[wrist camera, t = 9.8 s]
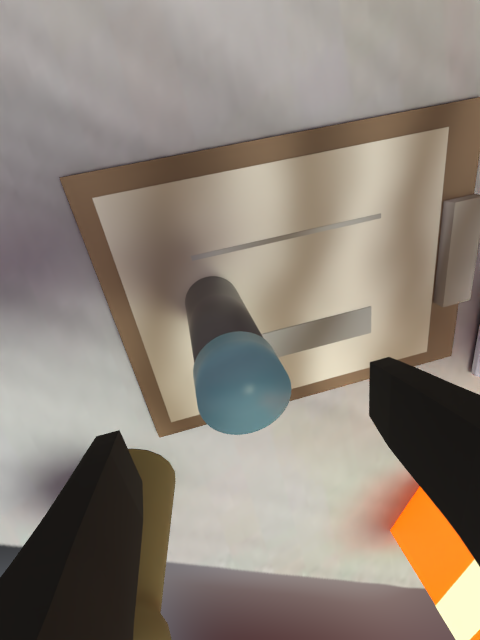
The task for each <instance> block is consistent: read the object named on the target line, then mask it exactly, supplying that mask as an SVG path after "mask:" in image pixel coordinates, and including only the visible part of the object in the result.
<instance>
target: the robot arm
mask: <svg viewBox="0 0 480 640" xmlns="http://www.w3.org/2000/svg"><path fill="white" fill-rule="evenodd" d="M472 374H473V375H475V376H476V377H480V326H479V331H478V337H477V343H476V348H475V354H474V360H473V365H472ZM369 416H370V417H371V419H372V421H373V422H374V424H375V426H376V427H377V429H378V431H379V432H380V434H381V436H382V437H383V439H384V440H385V442H386V443H387V445H388V447H389V448H390V449H391V450H392V452H393V453H394V454H395V456H396V457H397V458H398V459H399V461H400V462H401V463H402V464H403V466H404V467H405V468H406V469H407V471H408V472H409V473H410V474H411V476H412V477H413V478H414V479H415V481H416V482H417V483H418V484H419V486H420V487H421V488H422V489H423V491H424V492H425V493H426V494H427V496H428V497H429V498H430V499H431V501H432V502H433V503H434V504H435V506H436V507H437V508H438V509H439V511H440V512H441V513H442V514H443V516H444V517H445V518H446V519H447V521H448V522H449V523H450V525H451V526H452V527H453V529H454V530H455V531H456V533H457V534H458V535H459V537H460V538H461V540H462V541H463V543H464V544H465V546H466V547H467V549H468V550H469V552H470V553H471V555H472V556H473V558H474V559H475V561H476V562H477V564H478V565H479V567H480V395H478V394H476V393H474V392H471V391H469V390H466V389H464V388H462V387H459V386H457V385H454V384H452V383H450V382H447V381H445V380H443V379H441V378H438V377H436V376H434V375H431V374H429V373H427V372H425V371H422V370H420V369H418V368H415V367H413V366H411V365H408V364H406V363H404V362H401V361H399V360H396V359H394V358H391V357H387V358H383V359H379V360H376V361H372V362H370V390H369ZM142 531H143V483H142V479H141V477H140V475H139V473H138V470H137V468H136V466H135V464H134V462H133V459H132V457H131V455H130V453H129V450H128V448H127V446H126V444H125V442H124V439H123V437H122V435H121V433H120V431H115V432H111V433H108V434H104V435H100V436H97V437H96V438H95V439H94V441H93V442H92V444H91V446H90V447H89V449H88V450H87V452H86V453H85V455H84V456H83V458H82V459H81V461H80V463H79V464H78V466H77V467H76V469H75V471H74V472H73V474H72V475H71V477H70V478H69V480H68V482H67V483H66V485H65V486H64V488H63V489H62V491H61V492H60V494H59V495H58V497H57V498H56V500H55V501H54V503H53V504H52V506H51V507H50V509H49V510H48V512H47V513H46V515H45V516H44V518H43V519H42V521H41V522H40V524H39V525H38V527H37V528H36V529H35V531H34V532H33V534H32V535H31V536H30V538H29V539H28V541H27V542H26V543H25V545H24V546H23V548H22V549H21V551H20V552H19V553H18V555H17V556H16V557H15V559H14V560H13V562H12V563H11V564H10V566H9V567H8V568H7V570H6V571H5V572H4V574H3V575H2V576H1V577H0V640H133V632H134V618H135V607H136V596H137V586H138V575H139V565H140V554H141V543H142Z"/></svg>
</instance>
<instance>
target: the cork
mask: <svg viewBox="0 0 480 640" xmlns="http://www.w3.org/2000/svg"><path fill="white" fill-rule="evenodd" d="M128 450H129V453H130V455H131V457H132V459H133V462H134V464H135V466H136V468H137V470H138V473H139V475H140V477H141V479H142V483H143V531H142V543H141V554H140V565H139V575H138V586H137V596H136V607H135V618H134V632H133V640H171V636H170V631H169V627H168V624H167V622H166V621H165V619H164V618H163V616H162V615H161V613H160V611H161V603H162V594H163V585H164V577H165V567H166V559H167V550H168V541H169V533H170V524H171V515H172V506H173V498H174V489H175V471H174V470H173V468H172V466H171V464H170V463H169V462H168V461H167V460H166V459H164V458H163V457H162V456H160V455H158V454H155V453H153V452H150V451H147V450H138V449H128Z"/></svg>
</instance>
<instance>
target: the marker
mask: <svg viewBox="0 0 480 640" xmlns="http://www.w3.org/2000/svg"><path fill="white" fill-rule="evenodd" d="M185 307H186V313H187V320H188V326H189V332H190V339H191V345H192V352H193V358H194V367H193V378H194V385H195V392H196V399H197V406H198V411H199V413H200V415H201V417H202V419H203V420H204V421H205V422H206V424H208V425H209V426H210V427H211V428H213V429H215V430H217V431H219V432H222V433H226V434H234V435H240V434H248V433H252V432H255V431H258V430H260V429H263V428H265V427H266V426H268V425H270V424H271V423H272V422H274V421H275V420H276V419H277V418H278V417H279V416H280V415H281V414H282V413H283V411H284V410H285V408H286V407H287V405H288V403H289V400H290V396H291V382H290V378H289V376H288V374H287V372H286V370H285V369H284V367H283V365H282V364H281V362H280V360H279V358H278V357H277V355H276V353H275V352H274V350H273V348H272V347H271V345H270V344H269V343H268V342H267V341H266V340H265V339H264V338H263V336H262V334H261V333H260V331H259V329H258V327H257V326H256V324H255V322H254V320H253V319H252V317H251V315H250V313H249V311H248V310H247V308H246V306H245V304H244V303H243V301H242V299H241V297H240V296H239V294H238V292H237V290H236V289H235V287H234V286H233V284H232V283H231V282H229V281H228V280H226V279H224V278H222V277H218V276H209V277H204V278H202V279H200V280H198V281H196V282H195V283H194V284H193V285H192V286H191V287H190V288H189V290H188V292H187V294H186V298H185Z"/></svg>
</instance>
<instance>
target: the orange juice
mask: <svg viewBox="0 0 480 640" xmlns="http://www.w3.org/2000/svg"><path fill="white" fill-rule="evenodd" d="M390 531H391V533H392V535H393V536H394V538H395V540H396V541H397V543H398V545H399V546H400V548H401V549H402V551H403V553H404V554H405V556H406V558H407V559H408V561H409V562H410V564H411V566H412V567H413V569H414V571H415V572H416V574H417V576H418V577H419V579H420V580H421V582H422V584H423V585H424V587H425V589H426V590H427V592H428V593H429V595H430V597H431V598H432V600H433V602H434V603H435V605H436V608H437V609H438V611H439V613H440V614H441V616H442V617H443V619H444V621H445V622H446V624H447V626H448V627H449V629H450V631H451V632H452V634H453V636H454V637H455V639H456V640H480V567H479V565H478V564H477V562H476V561H475V559H474V558H473V556H472V555H471V553H470V552H469V550H468V549H467V547H466V546H465V544H464V543H463V541H462V540H461V538H460V537H459V535H458V534H457V533H456V531H455V530H454V529H453V527H452V526H451V525H450V523H449V522H448V521H447V519H446V518H445V517H444V516H443V514H442V513H441V512H440V511H439V509H438V508H437V507H436V506H435V504H434V503H433V502H432V501H431V499H430V498H429V497H428V496H427V494H426V493H425V492H424V491H423V489H422V488H421V487H419V488H418V490H417V491H416V493H415V494H414V496H413V497H412V499H411V500H410V502H409V503H408V505H407V506H406V508H405V509H404V510H403V512H402V513H401V515H400V516H399V518H398V519H397V521H396V522H395V524H394V525H393V527H392V528H391V530H390Z"/></svg>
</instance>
